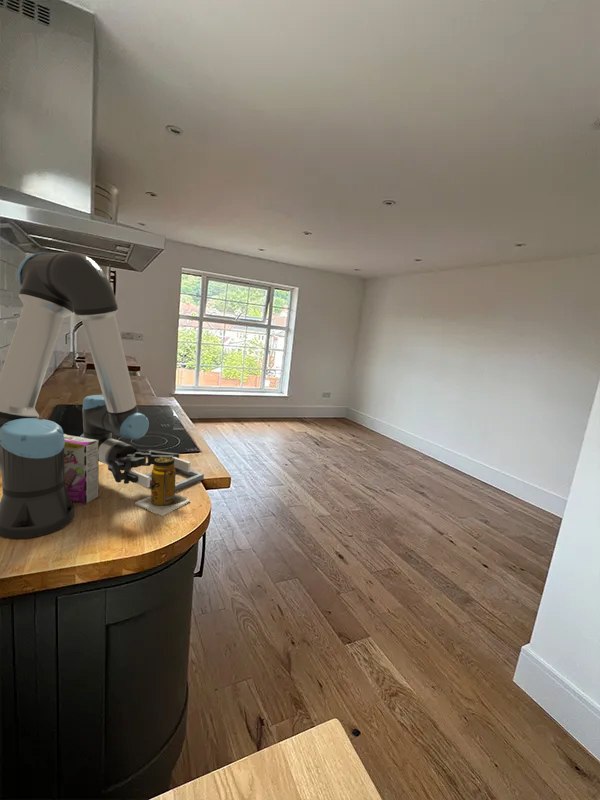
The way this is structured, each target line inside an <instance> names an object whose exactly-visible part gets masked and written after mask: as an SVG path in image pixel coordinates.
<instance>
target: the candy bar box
mask: <svg viewBox="0 0 600 800" xmlns="http://www.w3.org/2000/svg"><path fill="white" fill-rule="evenodd" d="M63 435H64V440H65V446H64V464H65V487H66V490H67V492H68V494H69V496H70V499H71V501H72V502H76V503H81V504H85V505H87V504H88V503H91V502H92V501H94V500H95V499H97V498H99V496H100V495H99V494H100V493H99V492H100V491H99V487H100V485H99V484H100V483H99V481H100V479H99V478H100V477H99V476H100V475H99V474H100V472H99V471H100V470H99V467H100V466H99V465H100V464H99V462H100V461H99V440H94V439H88V438H83V437H80V436H76V435H72V434H66V433H63Z"/></svg>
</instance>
